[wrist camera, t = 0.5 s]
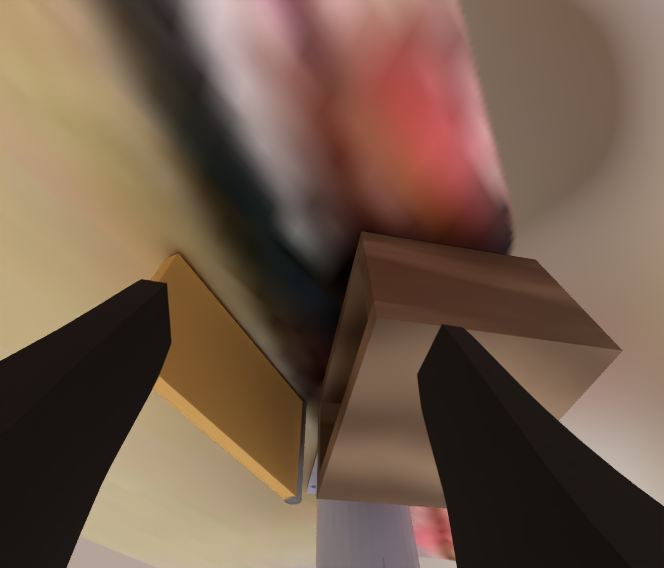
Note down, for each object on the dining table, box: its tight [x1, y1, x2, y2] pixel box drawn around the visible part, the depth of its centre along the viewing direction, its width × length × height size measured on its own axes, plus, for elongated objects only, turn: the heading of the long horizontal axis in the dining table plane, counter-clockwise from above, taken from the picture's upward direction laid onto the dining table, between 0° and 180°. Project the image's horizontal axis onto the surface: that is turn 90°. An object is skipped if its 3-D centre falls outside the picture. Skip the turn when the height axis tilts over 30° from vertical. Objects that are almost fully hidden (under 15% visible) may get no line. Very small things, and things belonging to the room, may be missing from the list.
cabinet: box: [317, 231, 622, 508], centre depth 20 cm, size 14×10×7 cm
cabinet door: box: [150, 253, 306, 504], centre depth 20 cm, size 15×1×7 cm, turn 25°
